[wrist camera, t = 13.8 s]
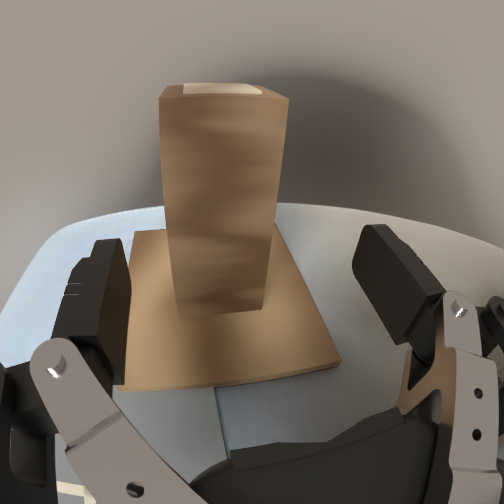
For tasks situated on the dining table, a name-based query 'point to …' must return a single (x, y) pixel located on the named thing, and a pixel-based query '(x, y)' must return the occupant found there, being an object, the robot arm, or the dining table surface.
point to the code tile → (159, 435)
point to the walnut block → (220, 191)
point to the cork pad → (219, 328)
